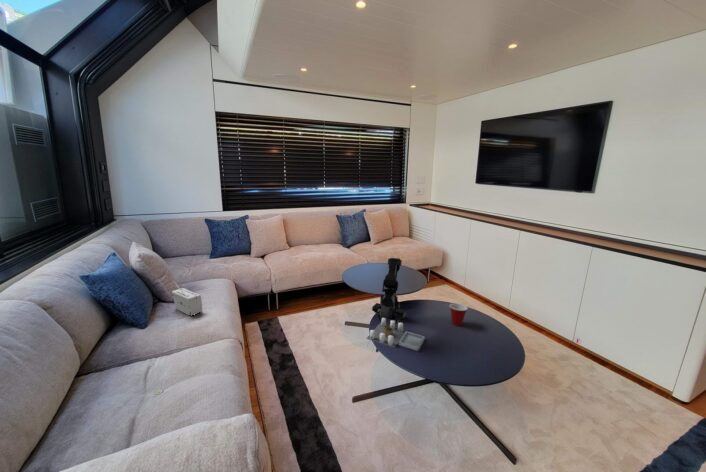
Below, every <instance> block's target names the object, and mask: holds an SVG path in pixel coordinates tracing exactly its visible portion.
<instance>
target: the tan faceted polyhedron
mask: <svg viewBox="0 0 706 472" xmlns="http://www.w3.org/2000/svg"><path fill="white" fill-rule="evenodd" d="M383 333H385V337H388V336H389V335H392V334H393V329H392V328H390V327H384V328H383Z"/></svg>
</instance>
